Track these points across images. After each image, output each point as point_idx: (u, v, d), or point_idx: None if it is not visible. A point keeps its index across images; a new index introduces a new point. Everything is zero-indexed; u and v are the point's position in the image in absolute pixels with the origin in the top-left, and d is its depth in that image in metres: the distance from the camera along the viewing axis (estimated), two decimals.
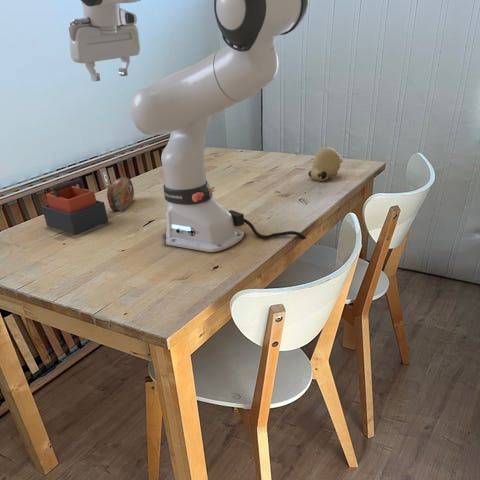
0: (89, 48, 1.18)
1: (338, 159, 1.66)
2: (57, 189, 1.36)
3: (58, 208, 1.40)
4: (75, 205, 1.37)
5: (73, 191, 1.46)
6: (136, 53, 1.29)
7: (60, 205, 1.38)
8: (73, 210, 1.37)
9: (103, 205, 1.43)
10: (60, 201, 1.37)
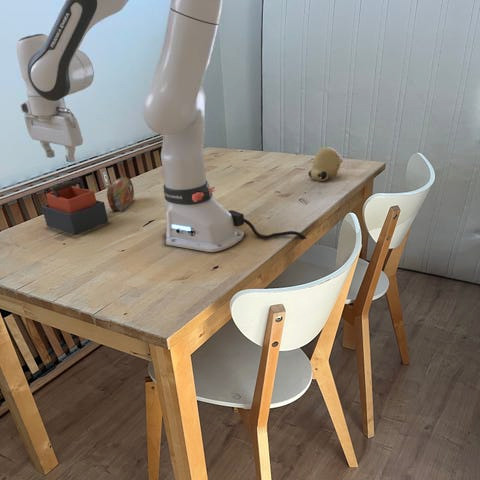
0: None
1: (338, 159, 1.66)
2: (57, 189, 1.36)
3: (58, 208, 1.40)
4: (75, 205, 1.37)
5: (73, 191, 1.46)
6: None
7: (60, 205, 1.38)
8: (73, 210, 1.37)
9: (103, 205, 1.43)
10: (60, 201, 1.37)
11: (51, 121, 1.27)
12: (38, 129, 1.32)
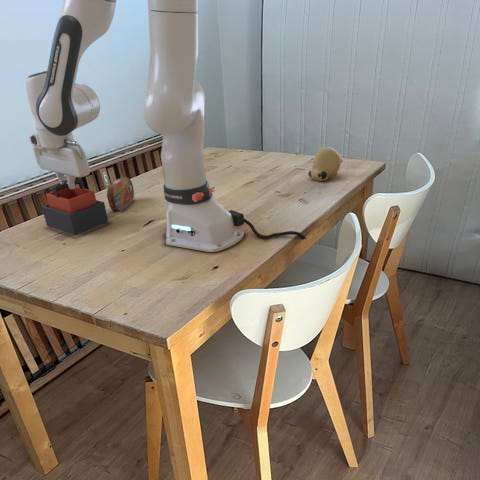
0: None
1: (338, 159, 1.66)
2: (57, 189, 1.36)
3: (58, 208, 1.40)
4: (75, 205, 1.37)
5: (73, 191, 1.46)
6: None
7: (60, 205, 1.38)
8: (73, 210, 1.37)
9: (103, 205, 1.43)
10: (60, 201, 1.37)
11: (59, 152, 1.31)
12: (47, 159, 1.36)
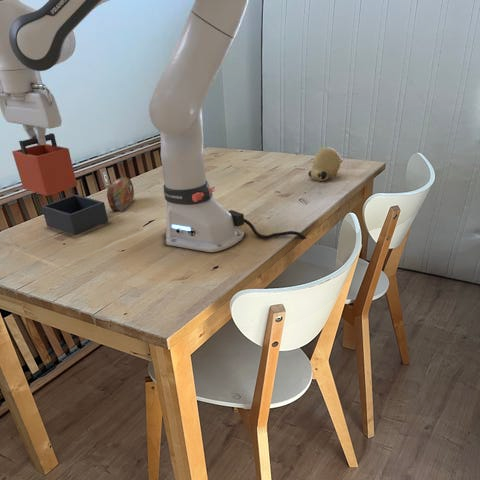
0: None
1: (338, 159, 1.66)
2: (24, 144, 1.17)
3: (26, 167, 1.20)
4: (45, 163, 1.17)
5: (45, 150, 1.26)
6: None
7: (28, 164, 1.19)
8: (43, 169, 1.17)
9: (103, 205, 1.43)
10: (28, 159, 1.18)
11: (25, 99, 1.12)
12: (13, 109, 1.17)
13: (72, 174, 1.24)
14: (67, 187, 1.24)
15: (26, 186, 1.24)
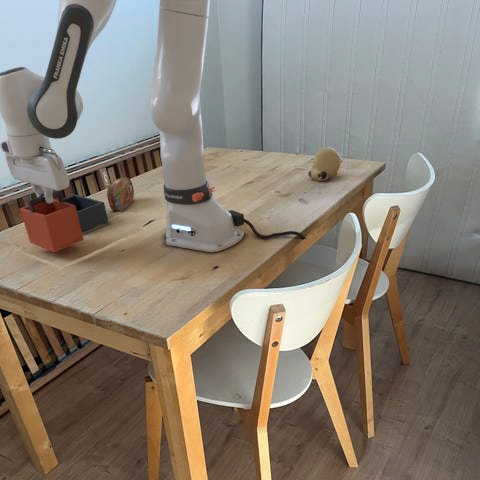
0: None
1: (338, 159, 1.66)
2: (32, 203, 1.19)
3: (34, 225, 1.23)
4: (52, 221, 1.20)
5: (52, 205, 1.29)
6: None
7: (36, 222, 1.21)
8: (50, 227, 1.20)
9: (103, 205, 1.43)
10: (36, 217, 1.20)
11: (34, 162, 1.14)
12: (21, 169, 1.19)
13: (78, 229, 1.26)
14: (74, 242, 1.26)
15: (33, 241, 1.27)
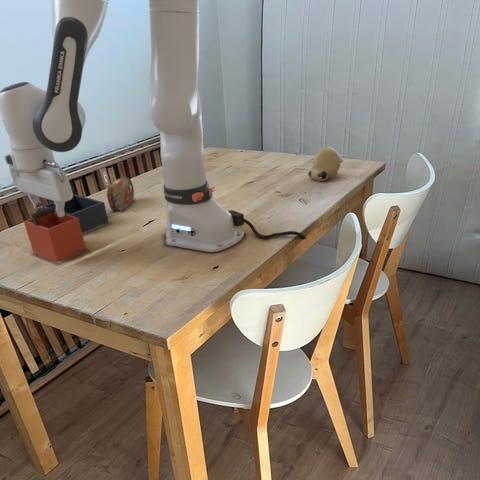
0: None
1: (338, 159, 1.66)
2: (36, 216, 1.21)
3: (38, 237, 1.24)
4: (56, 234, 1.21)
5: (55, 217, 1.31)
6: None
7: (39, 234, 1.23)
8: (54, 240, 1.22)
9: (103, 205, 1.43)
10: (39, 230, 1.22)
11: (38, 175, 1.16)
12: (25, 181, 1.21)
13: (82, 241, 1.28)
14: None
15: (37, 253, 1.29)
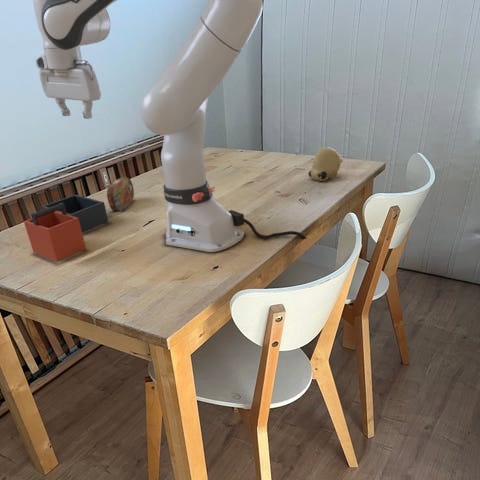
0: None
1: (338, 159, 1.66)
2: (36, 216, 1.21)
3: (38, 237, 1.24)
4: (56, 234, 1.21)
5: (55, 217, 1.31)
6: None
7: (39, 234, 1.23)
8: (54, 240, 1.22)
9: (103, 205, 1.43)
10: (39, 230, 1.22)
11: (68, 75, 1.24)
12: (54, 85, 1.29)
13: (82, 241, 1.28)
14: None
15: (37, 253, 1.29)
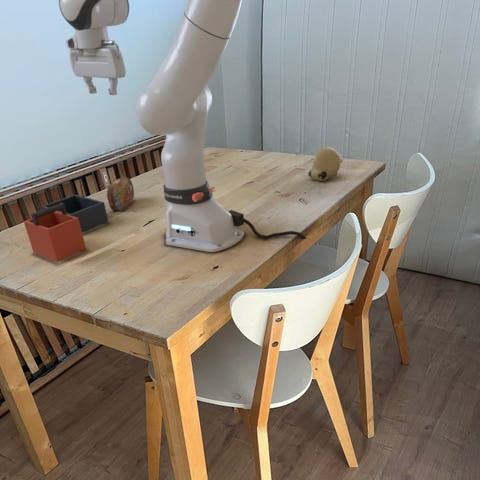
0: None
1: (338, 159, 1.66)
2: (36, 216, 1.21)
3: (38, 237, 1.24)
4: (56, 234, 1.21)
5: (55, 217, 1.31)
6: None
7: (39, 234, 1.23)
8: (54, 240, 1.22)
9: (103, 205, 1.43)
10: (39, 230, 1.22)
11: (96, 54, 1.35)
12: (83, 64, 1.41)
13: (82, 241, 1.28)
14: None
15: (37, 253, 1.29)
